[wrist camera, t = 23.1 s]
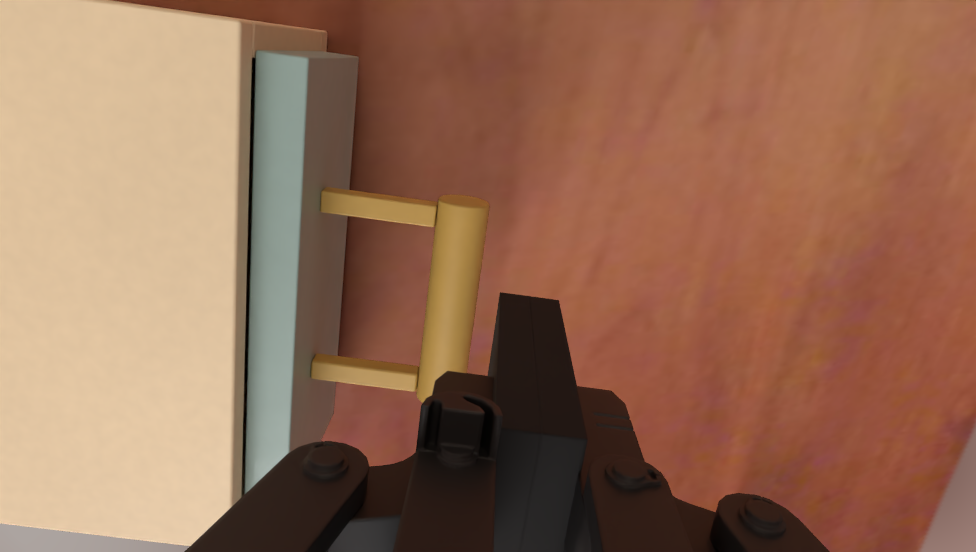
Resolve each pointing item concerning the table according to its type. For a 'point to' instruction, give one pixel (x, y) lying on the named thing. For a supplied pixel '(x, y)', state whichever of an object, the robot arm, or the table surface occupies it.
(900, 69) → the table surface
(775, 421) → the table surface
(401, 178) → the table surface
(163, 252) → the cabinet
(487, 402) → the robot arm
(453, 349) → the drawer
